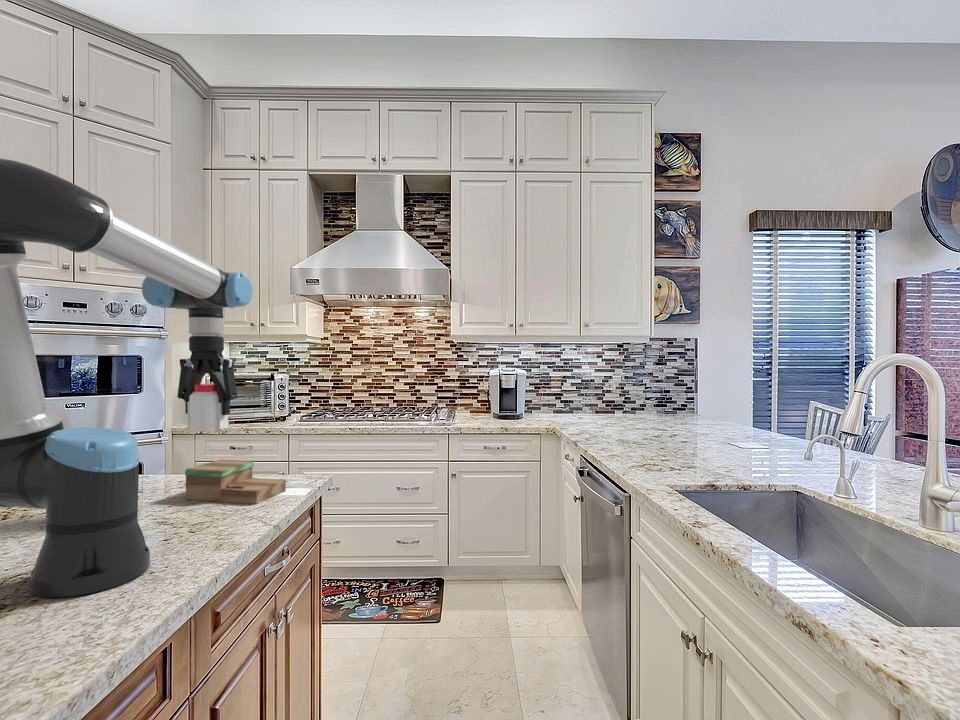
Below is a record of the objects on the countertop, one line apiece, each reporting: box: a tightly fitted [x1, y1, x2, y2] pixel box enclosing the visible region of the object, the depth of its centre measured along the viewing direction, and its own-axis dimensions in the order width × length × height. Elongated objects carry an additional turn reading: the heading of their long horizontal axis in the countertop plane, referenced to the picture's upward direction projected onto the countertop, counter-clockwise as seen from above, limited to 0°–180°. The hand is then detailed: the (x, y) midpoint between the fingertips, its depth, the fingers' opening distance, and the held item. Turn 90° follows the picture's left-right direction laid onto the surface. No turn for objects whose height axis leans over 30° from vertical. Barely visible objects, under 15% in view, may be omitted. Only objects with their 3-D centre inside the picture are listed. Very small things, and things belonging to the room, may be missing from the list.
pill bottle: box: [189, 383, 225, 432], centre depth 121 cm, size 8×8×11 cm
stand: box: [184, 459, 287, 505], centre depth 127 cm, size 12×20×8 cm, turn 79°
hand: (207, 427), depth 121 cm, fingers closed on pill bottle, 8 cm apart
